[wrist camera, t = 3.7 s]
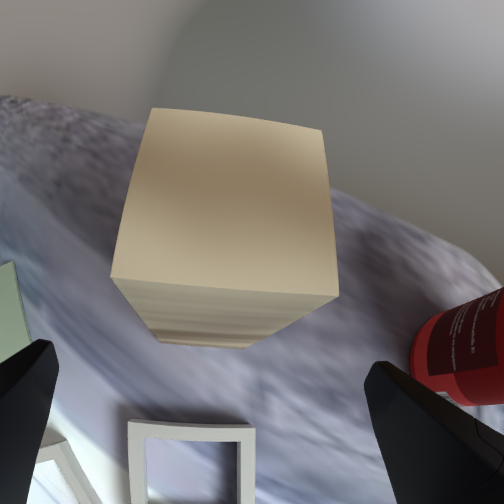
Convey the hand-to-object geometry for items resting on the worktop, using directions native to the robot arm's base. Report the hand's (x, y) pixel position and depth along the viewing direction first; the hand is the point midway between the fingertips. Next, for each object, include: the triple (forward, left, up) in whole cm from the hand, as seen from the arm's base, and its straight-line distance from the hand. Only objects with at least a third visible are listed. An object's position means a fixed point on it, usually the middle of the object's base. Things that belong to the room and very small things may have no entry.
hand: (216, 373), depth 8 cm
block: (+4, +2, -11) cm, 12 cm away
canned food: (+8, -17, -11) cm, 22 cm away
